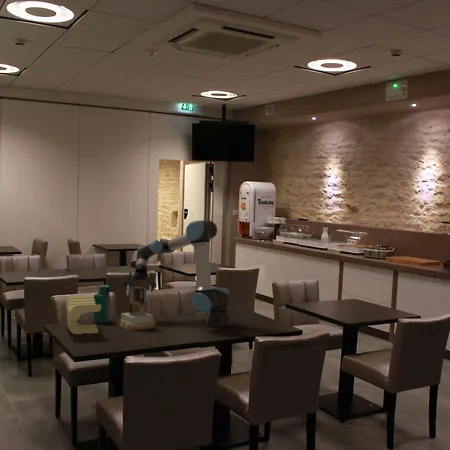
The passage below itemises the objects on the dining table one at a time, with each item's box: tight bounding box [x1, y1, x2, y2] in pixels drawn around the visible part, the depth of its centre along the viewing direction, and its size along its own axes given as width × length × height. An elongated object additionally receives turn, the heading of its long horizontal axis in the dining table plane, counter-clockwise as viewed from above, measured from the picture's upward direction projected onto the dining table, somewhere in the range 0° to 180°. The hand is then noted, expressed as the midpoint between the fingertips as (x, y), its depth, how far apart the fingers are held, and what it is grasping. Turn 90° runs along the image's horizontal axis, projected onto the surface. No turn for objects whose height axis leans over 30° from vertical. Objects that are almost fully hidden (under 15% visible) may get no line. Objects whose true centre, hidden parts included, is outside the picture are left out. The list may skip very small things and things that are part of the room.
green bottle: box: [92, 284, 111, 324], centre depth 339 cm, size 10×8×22 cm
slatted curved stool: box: [65, 294, 101, 335], centre depth 314 cm, size 30×16×18 cm, turn 21°
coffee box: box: [128, 286, 147, 316], centre depth 328 cm, size 9×6×16 cm
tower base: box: [118, 319, 156, 332], centre depth 328 cm, size 16×16×4 cm
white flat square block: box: [120, 312, 154, 324], centre depth 329 cm, size 14×14×4 cm
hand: (138, 295), depth 334 cm, fingers open, 13 cm apart
